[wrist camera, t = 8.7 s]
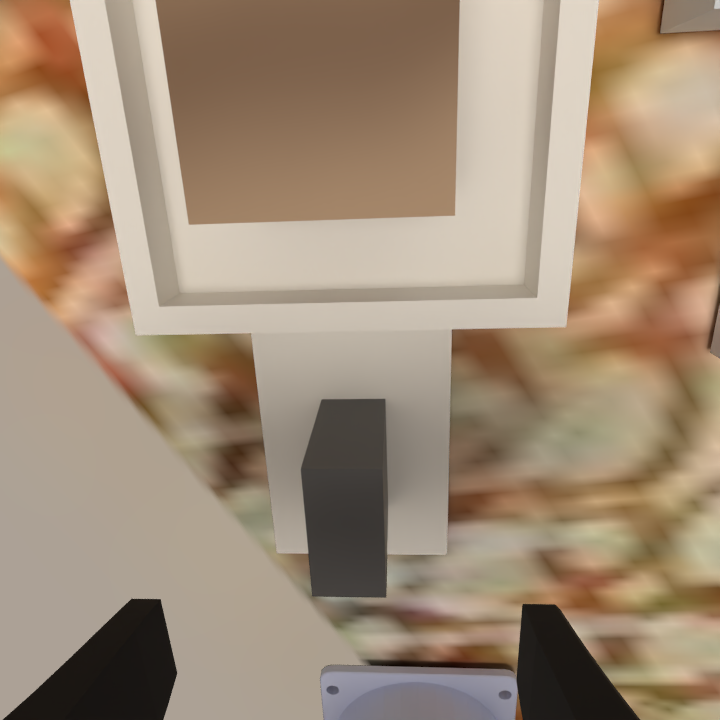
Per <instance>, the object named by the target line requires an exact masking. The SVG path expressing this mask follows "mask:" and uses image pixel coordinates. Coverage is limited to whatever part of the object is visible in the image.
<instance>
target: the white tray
mask: <svg viewBox="0 0 720 720" xmlns="http://www.w3.org/2000/svg"><path fill="white" fill-rule="evenodd" d="M70 4H71V9H72V14H73V19H74V24H75V29H76V34H77V39H78V44H79V49H80V54H81V59H82V65H83V70H84V75H85V80H86V85H87V90H88V95H89V100H90V105H91V110H92V115H93V120H94V125H95V131H96V136H97V141H98V146H99V151H100V156H101V161H102V166H103V171H104V176H105V181H106V186H107V191H108V197H109V202H110V207H111V212H112V217H113V222H114V227H115V232H116V237H117V242H118V247H119V252H120V257H121V263H122V268H123V273H124V278H125V283H126V288H127V293H128V298H129V303H130V308H131V313H132V318H133V323H134V329H135V334H136V335H181V334H233V333H251V338H252V346H253V355H254V363H255V372H256V380H257V389H258V397H259V406H260V414H261V423H262V431H263V440H264V448H265V457H266V465H267V474H268V483H269V491H270V500H271V508H272V517H273V525H274V534H275V542H276V551H277V553H303V554H309V565H310V576H311V587H312V596H323V597H385V598H386V588H387V554H400V555H447V534H448V487H449V441H450V394H451V347H452V329H492V328H544V327H566V324H567V314H568V304H569V294H570V284H571V274H572V264H573V254H574V244H575V234H576V224H577V214H578V204H579V194H580V184H581V174H582V164H583V154H584V144H585V134H586V124H587V114H588V104H589V94H590V84H591V74H592V64H593V54H594V44H595V34H596V24H597V14H598V4H599V0H460V11H459V57H458V103H457V149H456V195H455V216H429V217H400V218H371V219H342V220H313V221H283V222H254V223H225V224H196V225H189V223H188V216H187V209H186V202H185V196H184V189H183V182H182V176H181V169H180V162H179V155H178V149H177V142H176V135H175V129H174V122H173V115H172V108H171V102H170V95H169V88H168V82H167V75H166V68H165V61H164V55H163V48H162V41H161V35H160V28H159V21H158V14H157V8H156V1H155V0H70Z"/></svg>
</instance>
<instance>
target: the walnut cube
mask: <svg viewBox="0 0 720 720" xmlns="http://www.w3.org/2000/svg"><path fill="white" fill-rule="evenodd" d="M155 1H156V8H157V14H158V21H159V28H160V35H161V41H162V48H163V55H164V61H165V68H166V75H167V82H168V88H169V95H170V102H171V108H172V115H173V122H174V129H175V135H176V142H177V149H178V155H179V162H180V169H181V176H182V182H183V189H184V196H185V202H186V209H187V216H188V223H189V225H196V224H225V223H254V222H283V221H313V220H342V219H371V218H400V217H429V216H455V195H456V149H457V103H458V57H459V11H460V0H155Z"/></svg>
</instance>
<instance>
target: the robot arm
mask: <svg viewBox="0 0 720 720" xmlns="http://www.w3.org/2000/svg"><path fill="white" fill-rule="evenodd" d="M176 675H177V671H176V666H175V662H174V657H173V653H172V648H171V644H170V640H169V635H168V631H167V626H166V622H165V618H164V613H163V609H162V604H161V600H160V599H131V600H130V601H129V602H128V603H127V604H126V605H125V606H124V607H122V608H121V609H120V610H119V611H118V612H117V613H116V614H115V615H114V616H113V617H112V618H111V619H110V620H109V621H108V622H107V623H106V624H105V625H104V626H103V627H102V628H101V629H100V630H99V631H98V632H96V633H95V634H94V635H93V636H92V637H91V638H90V639H89V640H88V641H87V642H86V643H85V644H84V645H83V646H82V647H81V648H80V649H79V650H78V651H77V652H76V653H75V654H74V655H73V656H72V657H71V658H70V659H69V660H68V661H66V662H65V663H64V664H63V665H62V666H61V667H60V668H59V669H58V670H57V671H56V672H55V673H54V674H53V675H52V676H51V677H49V679H47V680H46V681H45V682H44V683H43V684H42V685H41V686H40V687H39V688H38V689H37V690H36V691H35V692H33V693H32V694H31V695H30V696H29V697H28V698H27V699H26V700H25V701H23V702H22V703H21V704H20V705H19V706H18V707H17V708H16V709H15V710H13V711H12V712H11V713H10V714H9V715H8V716H7V717H5V718H4V719H3V720H163V719H164V715H165V712H166V709H167V706H168V703H169V699H170V696H171V693H172V689H173V686H174V682H175V679H176ZM320 683H321V695H322V706H323V717H324V720H515V715H516V704H517V692H518V694H519V700H520V706H521V712H522V717H523V720H640V719H639V718H638V717H637V715H636V714H635V713H634V711H633V710H632V709H631V708H630V706H629V705H628V704H627V702H626V701H625V700H624V699H623V697H622V696H621V695H620V693H619V692H618V691H617V690H616V688H615V687H614V686H613V684H612V683H611V682H610V680H609V679H608V678H607V676H606V675H605V674H604V672H603V671H602V669H601V668H600V667H599V665H598V664H597V663H596V661H595V660H594V658H593V657H592V656H591V654H590V653H589V651H588V650H587V649H586V647H585V646H584V644H583V643H582V641H581V640H580V638H579V637H578V636H577V634H576V633H575V631H574V630H573V628H572V627H571V625H570V624H569V622H568V621H567V619H566V618H565V616H564V615H563V613H562V611H561V610H560V609H559V608H558V607H557V606H556V605H546V604H523V606H522V618H521V631H520V643H519V655H518V668H517V678H516V675H515V673H514V672H512V671H510V670H507V669H480V668H441V667H401V666H361V665H328V666H326V667H324V668H323V669H322V672H321V677H320Z"/></svg>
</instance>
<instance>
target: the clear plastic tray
mask: <svg viewBox="0 0 720 720" xmlns="http://www.w3.org/2000/svg"><path fill="white" fill-rule="evenodd" d="M711 30H720V0H665V1H664V8H663V16H662V23H661V30H660V33H676V32H693V31H711ZM710 353H712V354H713V355H715V356H717V357H718V358H720V305H719V310H718V315H717V320H716V325H715V330H714V335H713V340H712V345H711V350H710Z"/></svg>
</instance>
